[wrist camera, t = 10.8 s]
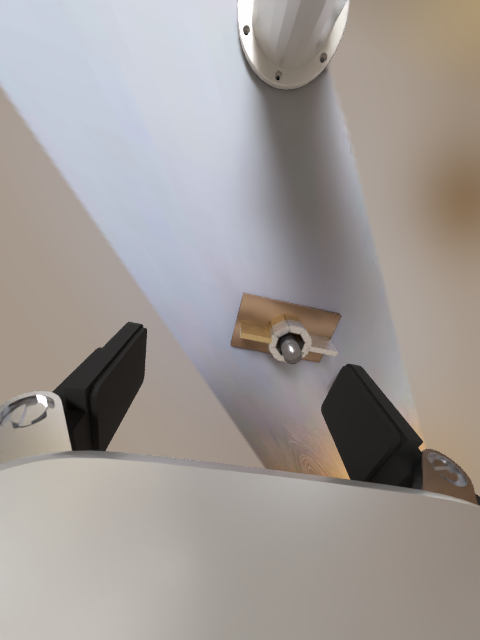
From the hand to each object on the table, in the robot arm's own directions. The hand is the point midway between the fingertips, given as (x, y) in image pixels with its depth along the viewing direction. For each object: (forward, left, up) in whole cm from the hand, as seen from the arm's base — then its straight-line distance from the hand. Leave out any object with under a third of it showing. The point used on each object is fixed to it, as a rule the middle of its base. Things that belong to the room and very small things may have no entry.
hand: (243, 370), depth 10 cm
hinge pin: (+12, +12, -29) cm, 34 cm away
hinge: (+12, +12, -29) cm, 34 cm away
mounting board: (+12, +12, -30) cm, 35 cm away
